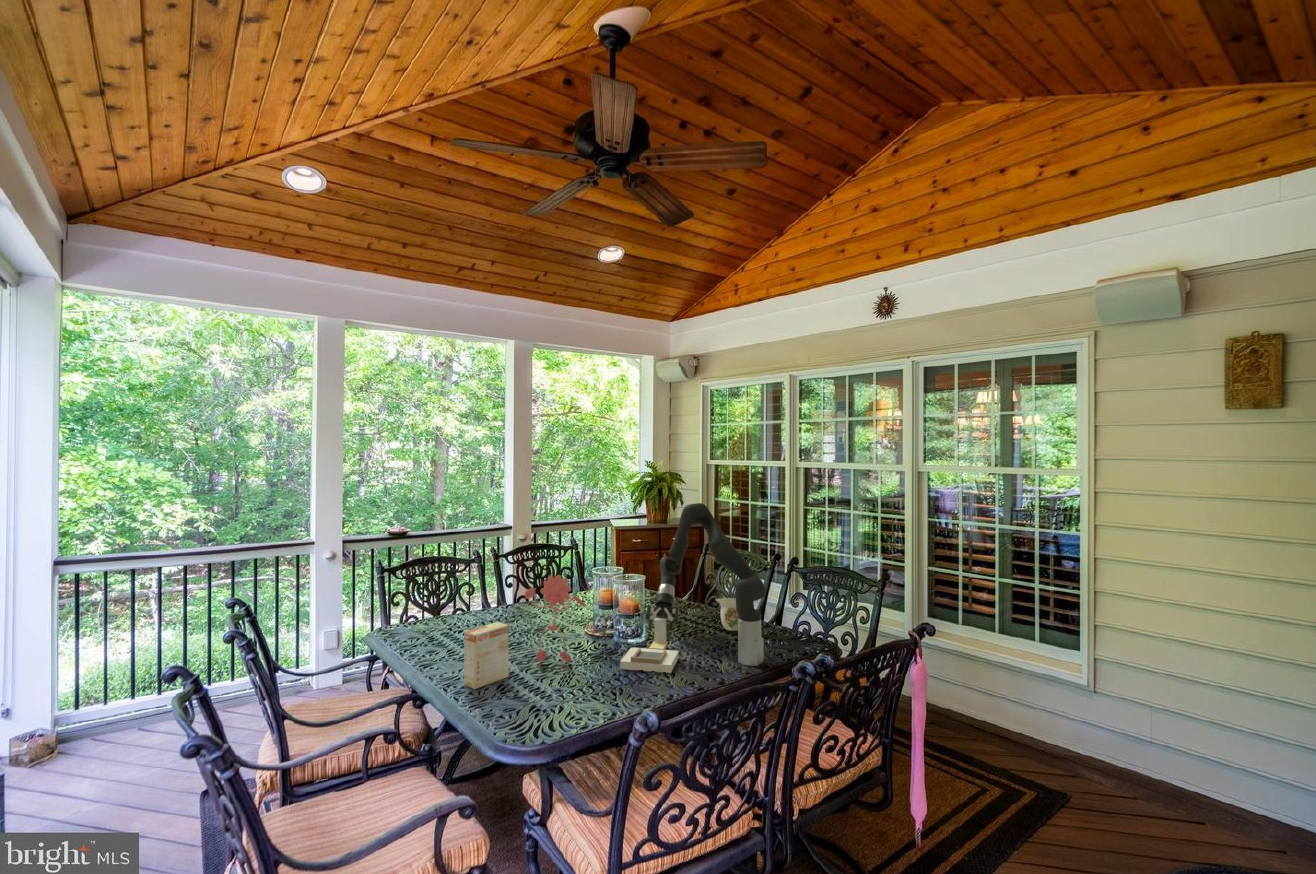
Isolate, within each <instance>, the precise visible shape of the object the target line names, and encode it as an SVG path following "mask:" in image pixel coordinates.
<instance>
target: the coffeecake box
mask: <svg viewBox="0 0 1316 874" xmlns="http://www.w3.org/2000/svg"><path fill="white" fill-rule="evenodd" d="M463 636H464V637H463V640H464V641H463V645H464V646H463V649H464V651H463V653H464V654H463V655H464V656H463V657H464V658H463V660H464V661H463V662H464V665H463V667H464V668H463V669H464V670H463V672H464V673H463V675H464V676H463V682H464V684H463V685H464V686H467V687H468V688H470V689H473V690H476V689H479V688H481V687H484V686H487V685H490V684H493V683H495V682H498V681H500V680H503V679H506V678H509V677H510V676H509V675H510V674H509V672H510V671H509V670H510V669H509V663H510V662H509V660H510V659H509V625H508V624H506V623H503V622H500V621H496V622H493V623H490V624H485V625H483V626H478V627H476V628H472V629H468V630H465V631H464V632H463Z"/></svg>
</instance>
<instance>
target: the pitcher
mask: <svg viewBox="0 0 1316 874" xmlns="http://www.w3.org/2000/svg"><path fill="white" fill-rule="evenodd" d="M715 601H716V602H718V604H719V605H720V620H721V624H722V626H723V627H724V629H725V630H727V631H729V632H735V631H737V632H738V613H737V610H736V599H735V598H734V597H724V598H715Z"/></svg>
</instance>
